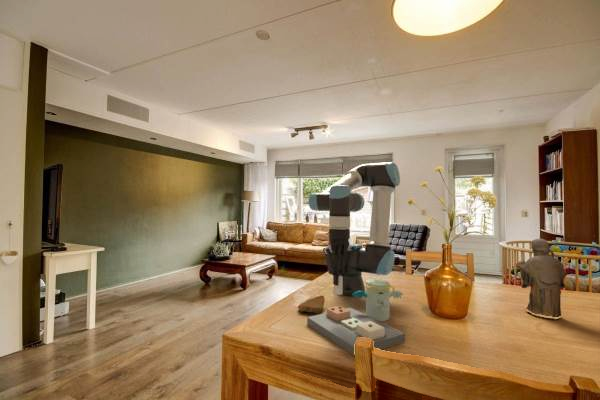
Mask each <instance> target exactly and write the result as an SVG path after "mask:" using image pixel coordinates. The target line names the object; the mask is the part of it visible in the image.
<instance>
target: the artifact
mask: <svg viewBox="0 0 600 400" xmlns="http://www.w3.org/2000/svg"><path fill="white" fill-rule="evenodd" d="M324 305H325V296H324V295H319V296H315V297H313V298H309V299H307V300H306V301H304V302H302V303H300V304H299V305H298V306H297V309H298V310H299V311H300V312H308V313H312V314H322V311H323V307H324Z"/></svg>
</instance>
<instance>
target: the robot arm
mask: <svg viewBox="0 0 600 400" xmlns="http://www.w3.org/2000/svg"><path fill="white" fill-rule="evenodd" d="M400 183H401V176H400V171H399V167H398V165H397V164H396V163H395V162H393V161H391V162H388V161H385V162H375V163H373V162H372V163H364V164H360V165H357V166H356V167H354V168H352V169H350V170H348V171H346V173H345V175H344V176H343V177H342V178H340V179H339V180H337V181H336V182H334V183H333V184H331V185H330V186H329V187H327V188H326V189H324V190H323V191H321V192H313V193H311V194H310V195H309V197H308V207H309V209H310V210H312V211H315V212H316V211H318V212H329V213H328V214H329V216H328V218H329V219H328V226H329V229H328V239H329V241H328V246H327V247H323V248H322V251H323V253H324V255H325V261H326V265H327V266H326V267H327V271H328V274H329V275H332V280H333V281H332V283H333V285H334V286H333V291H334V294H335V295H338V296H348V297H355V295H353V296H352V294H353V293H354V292H357V291H363V292H364V293H365V294H366V285H365V283H364V280H363V276H362V275H363V273H366V274H371V275H377V276H389V275H390V274H391V272H392V270H393V268H394V265H395V261H396V260H395V259H396V256H395V255H396V254H395V251H394V250H392V246H391V245H390V244H389V234H390V233H389V232H390V231H389V230H390V218H391V216H390V215H391V204H392V193H394V192H395V191H396V187H399V186H400ZM363 187H370V191H372V202H371V204H372V205H371V215H370V216H371V217H370V229H369V239H368V241H367V242H366V243H365V247H363V245H362V243H350V238H351V237H350V236H351V230H350V227H351V212H352V213H356V212H360V211H361V210H362V209H363V208H364V206H365V198H364V196H363V195H362V194H360V193H358V192H352V191H353V190H356V189H357V190H358V189H360V188H363Z"/></svg>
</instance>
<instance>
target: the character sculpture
mask: <svg viewBox="0 0 600 400" xmlns="http://www.w3.org/2000/svg"><path fill="white" fill-rule="evenodd" d="M365 282H366V283H365V284H366V285H365V293H364V292H363V291H357V292H354V293H353V294H352V296H351V297H354V298H357V299H359V298H360V299H361V298H364V297H365V315H367V316H369V317H372V318H374V319H376V320H378V321H380V322H384V321H385V322H386V321H388V320H389V319H390V305H391V304H390V299H391V298H392V297H393V299H397V300H398V299H399V298H400V299H401V298H402V296H404V293H403V292H402V291H399V290H396V289H395V287H394V286H393V285H391V284H390V281H388V280H386V279H385V280H384V279H382V278H381V279H380V278H379V279H378V278H370V279H367V280H366V281H365ZM390 288H391V289H392V290H390ZM353 295H355V296H353Z"/></svg>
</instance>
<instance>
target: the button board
mask: <svg viewBox="0 0 600 400" xmlns="http://www.w3.org/2000/svg"><path fill="white" fill-rule="evenodd" d="M345 308H346V309H348V310H350V319H351V318H356V319H358V320H360V321H362V322H363V323H364V322H368V321H372V322H374V323H376V324H378V325H380V326H382V327H384V328H385V336H384V337H382V338H379V339H376V340H373V341H374V347H375V348H379V349H381V350H384V349H387V348H390V347H393V346H395V345H398V344H399V345H400V344H402V343H404V342H406V333H405V332H403V331H401V330H399V329H397V328H395V327H392V326H390V325H389V324H386V323H384V322H383V321H378V320H376V319H374V318H372V317H369V316H367V315H366V313H363V312H361V311H359V310H356V309H355V308H352V307H345ZM306 322H307V325H308V326H309V327H311V328H312V329H313V330H315V331H316V332H318V333H319V334H321V335H322V336H324V337H326V338H327V339H329V340H330V341H331V342H333V343H334V344H336V345H337V346H339V347H340V348H342V349H344V351H346V352H347V351H348V352H347V353H349V354H350V353H351V354H350V355H352V356H353V357H355V356H354V344H355V342H356V340H357V338H358V337H362V336H360V335H358V334H357V330H354V331H351V330H350V329H348V328H346V327H344V326H343V325H341V321H339V322H336V321H334V320H332V319H331V318H329V317H327V312H326V313H318V314H316V315H311V316H307V321H306Z"/></svg>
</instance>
